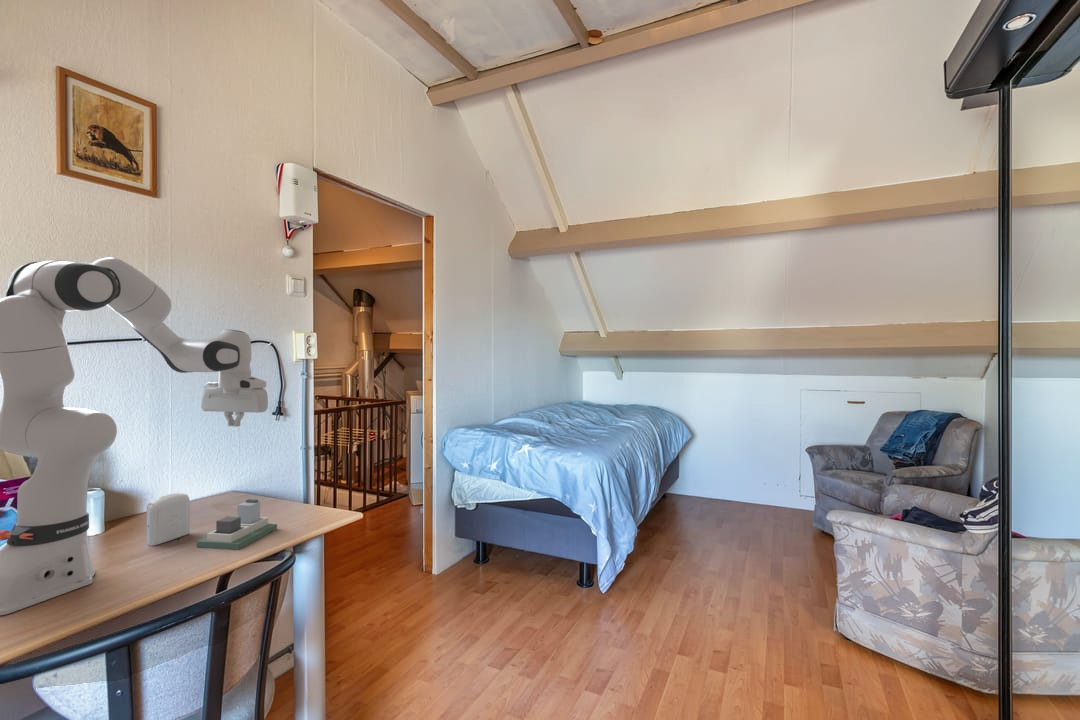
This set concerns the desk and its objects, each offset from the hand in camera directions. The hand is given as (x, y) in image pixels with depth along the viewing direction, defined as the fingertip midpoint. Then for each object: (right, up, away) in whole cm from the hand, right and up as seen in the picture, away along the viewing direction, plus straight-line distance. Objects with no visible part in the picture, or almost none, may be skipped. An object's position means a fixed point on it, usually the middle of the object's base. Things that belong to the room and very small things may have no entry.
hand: (234, 426), depth 153 cm
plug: (+11, -28, -11) cm, 32 cm away
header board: (+11, -29, -15) cm, 35 cm away
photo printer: (-7, -29, -17) cm, 35 cm away
